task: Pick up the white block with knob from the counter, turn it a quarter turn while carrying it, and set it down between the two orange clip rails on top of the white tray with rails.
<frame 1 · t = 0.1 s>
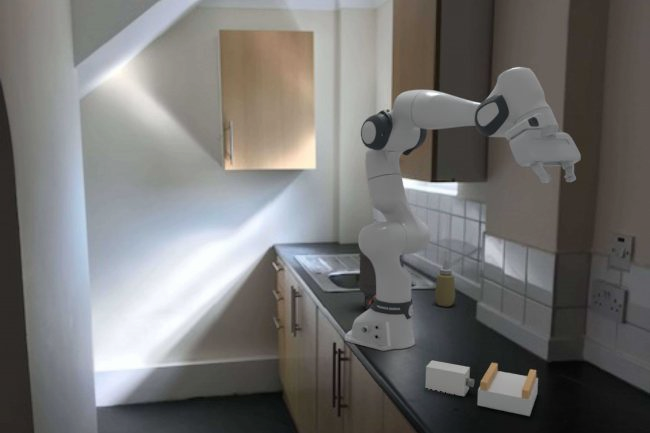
hand: (559, 181, 129), 54 cm above the worktop, tool tilted 30°, fingers open, 8 cm apart
white block with knob: (447, 389, 147), on the worktop
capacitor: (376, 309, 220), on the worktop
squeeze bottle: (444, 305, 226), on the worktop
white tray with rails: (508, 399, 141), on the worktop
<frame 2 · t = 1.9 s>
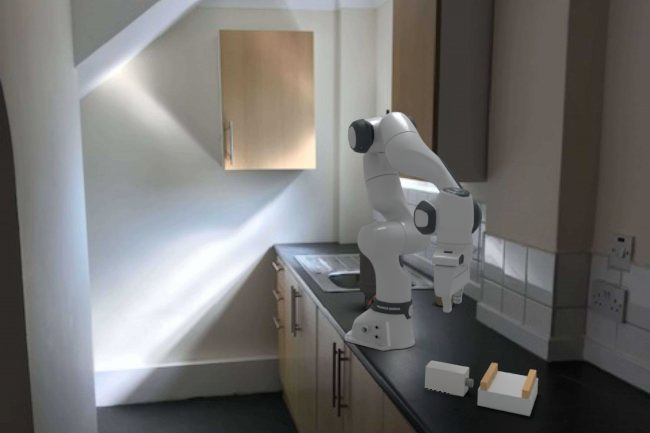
hand: (452, 307, 143), 22 cm above the worktop, tool pointing down, fingers open, 8 cm apart
nothing on the worktop moved.
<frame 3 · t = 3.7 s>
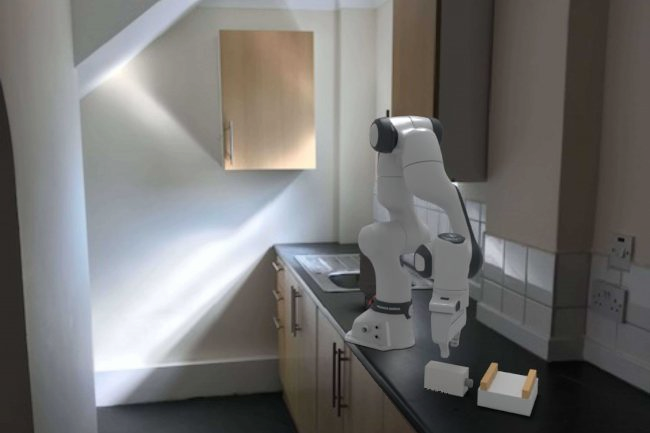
hand: (449, 351, 145), 10 cm above the worktop, tool pointing down, fingers open, 8 cm apart
nothing on the worktop moved.
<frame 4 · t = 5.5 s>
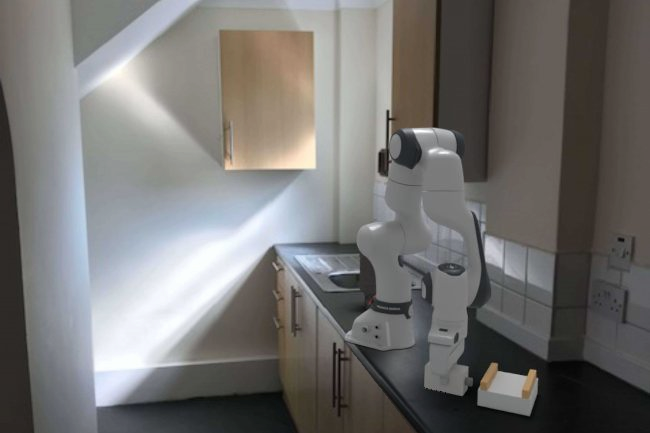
hand: (447, 380, 146), 2 cm above the worktop, tool pointing down, fingers closed on white block with knob, 5 cm apart
white block with knob: (445, 388, 147), on the worktop, touching gripper
everything else where it was.
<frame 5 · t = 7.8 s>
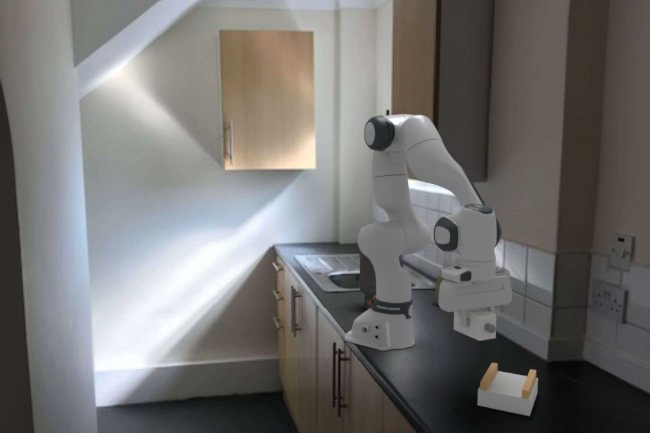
hand: (475, 325, 142), 18 cm above the worktop, tool pointing down, fingers closed on white block with knob, 5 cm apart
white block with knob: (474, 333, 142), point 16 cm above the worktop, touching gripper
everything else where it was.
when the fingers open (8 cm above the worktop, at t = 10.6 s): white block with knob drops 1 cm, resting on white tray with rails.
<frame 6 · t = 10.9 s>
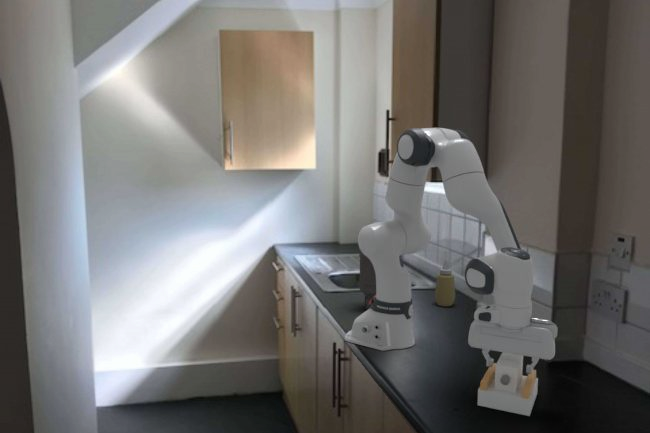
hand: (509, 369, 140), 8 cm above the worktop, tool pointing down, fingers open, 8 cm apart
white block with knob: (508, 383, 141), point 4 cm above the worktop, touching white tray with rails
everything else where it was.
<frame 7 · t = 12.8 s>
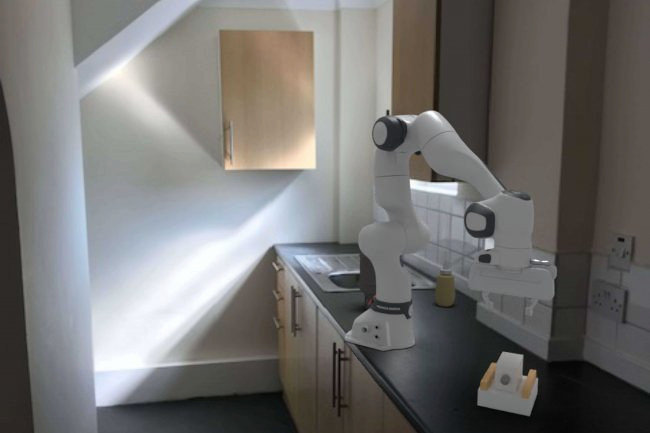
hand: (508, 311, 141), 21 cm above the worktop, tool pointing down, fingers open, 8 cm apart
nothing on the worktop moved.
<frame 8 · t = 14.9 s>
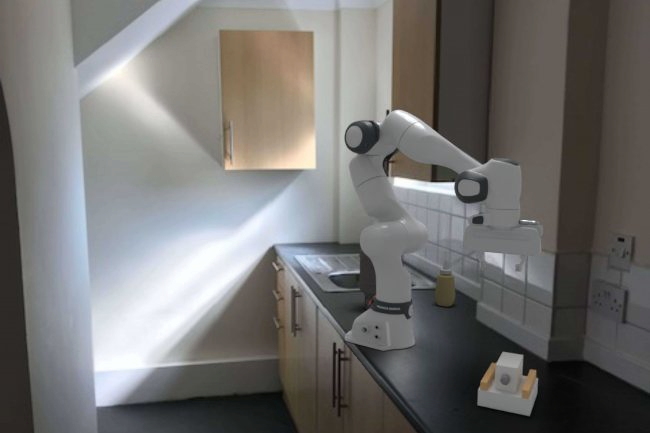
hand: (500, 269, 154), 29 cm above the worktop, tool pointing down, fingers open, 8 cm apart
nothing on the worktop moved.
at the end: white block with knob 0.4 cm off-centre on the white tray with rails, point 4.0 cm above the white tray with rails's base; white block with knob touching white tray with rails; the gripper is holding nothing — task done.
